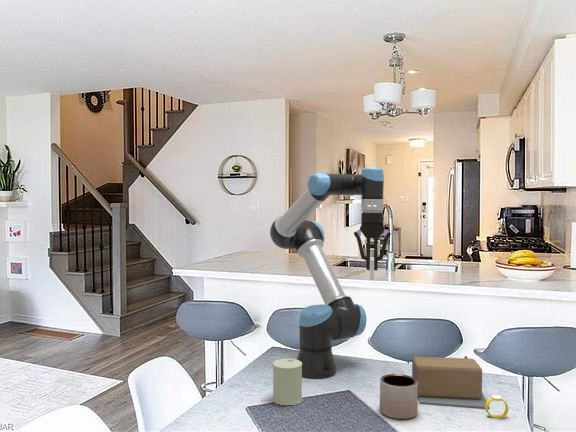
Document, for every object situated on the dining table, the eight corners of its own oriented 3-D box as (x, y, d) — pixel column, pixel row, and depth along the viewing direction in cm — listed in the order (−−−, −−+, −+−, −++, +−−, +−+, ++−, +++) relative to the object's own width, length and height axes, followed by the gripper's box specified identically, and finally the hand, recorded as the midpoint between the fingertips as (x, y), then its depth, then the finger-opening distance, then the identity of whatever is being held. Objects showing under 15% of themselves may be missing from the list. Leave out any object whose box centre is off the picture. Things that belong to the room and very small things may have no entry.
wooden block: (411, 385, 162) (474, 388, 160) (415, 397, 152) (482, 400, 150) (411, 355, 162) (474, 357, 160) (416, 365, 152) (483, 368, 150)
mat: (419, 403, 149) (419, 401, 149) (416, 384, 165) (416, 382, 165) (489, 409, 145) (489, 407, 145) (479, 389, 161) (479, 387, 161)
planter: (394, 423, 136) (394, 389, 135) (372, 408, 146) (372, 376, 145) (425, 416, 140) (425, 383, 140) (402, 402, 150) (402, 371, 150)
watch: (487, 419, 139) (486, 398, 139) (484, 415, 142) (483, 395, 141) (509, 419, 138) (508, 398, 138) (506, 414, 141) (505, 394, 141)
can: (306, 396, 155) (306, 358, 154) (297, 407, 146) (297, 368, 145) (278, 392, 158) (278, 355, 157) (268, 403, 149) (268, 364, 148)
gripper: (352, 212, 167) (352, 280, 168) (391, 212, 165) (391, 281, 166) (354, 211, 175) (353, 277, 175) (391, 211, 172) (390, 278, 173)
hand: (371, 279), depth 170 cm, fingers closed
